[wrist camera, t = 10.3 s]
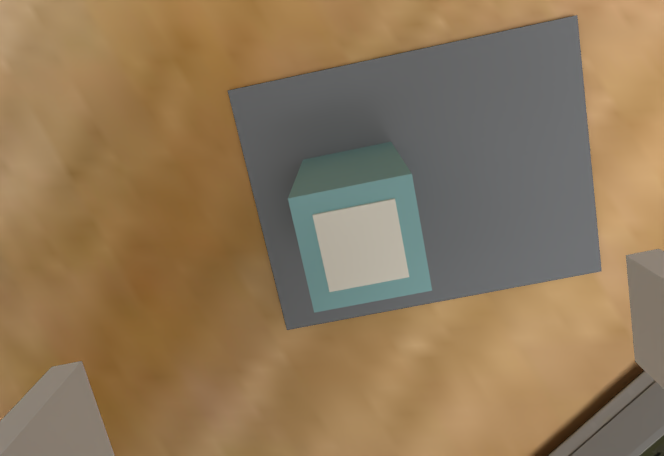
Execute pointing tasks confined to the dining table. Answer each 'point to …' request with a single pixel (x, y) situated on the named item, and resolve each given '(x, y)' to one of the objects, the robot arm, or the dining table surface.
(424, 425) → the dining table surface
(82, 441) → the robot arm
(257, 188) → the mat
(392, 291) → the block
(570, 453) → the digital clock
